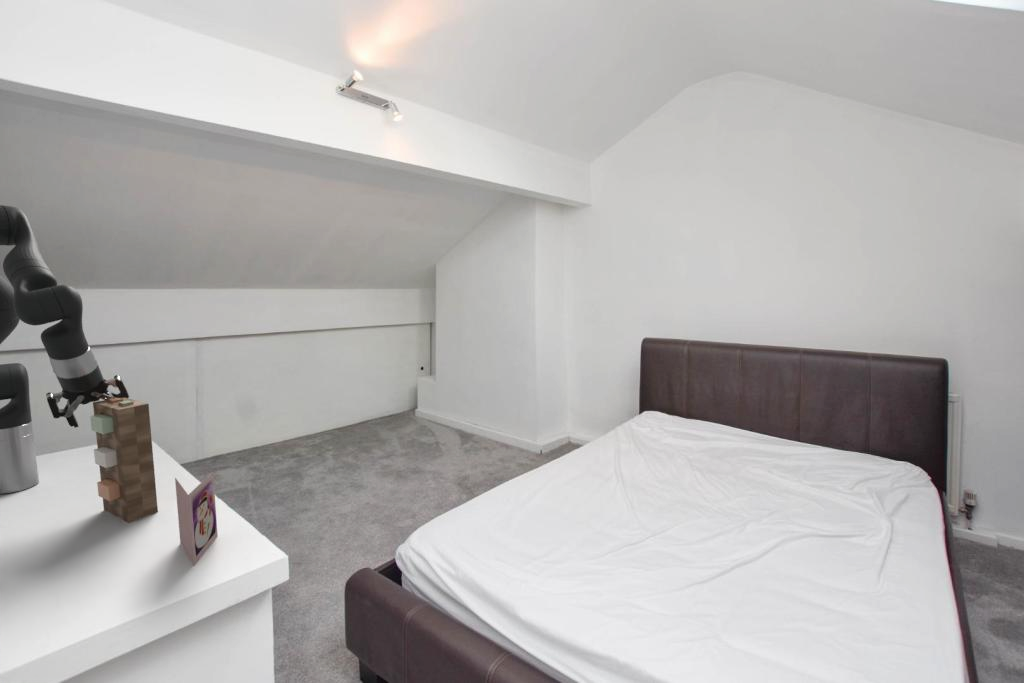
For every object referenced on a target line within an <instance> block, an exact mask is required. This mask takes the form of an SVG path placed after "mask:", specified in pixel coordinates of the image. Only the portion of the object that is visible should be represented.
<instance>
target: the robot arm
mask: <svg viewBox="0 0 1024 683" xmlns="http://www.w3.org/2000/svg"><path fill="white" fill-rule="evenodd" d="M0 246H6V247H7V246H10V247H11V246H14V247H13V248H12V249H10V250H9V252H8V253H7V254H6V256H5V257H4V260H3V262H2V270H3V272H4V274H5V276H6V278H7V280H8V281H7V280H6V279H5V278H4V277H3V276H2V275H1V274H0V345H2V343H3V342H4V341H6V339H7V338H8V337H9V336H10V335H11V334H12V333H13V331H14V330H16V328H17V326H18V325H19V323H20V321H21V322H23V323H24V324H26V325H29V326H41V325H46V324H50V323H54V322H56V323H55V324H53V325H51V326H48V327H46V328H45V329H44V330H43V331H42V332H41V334H40V340H41V343H42V345H43V347H44V349H45V352H46V354H47V356H48V358H49V363H50V365H51V367H52V371H53V373H54V374H55V377H56V378H57V381H58V383H59V385H60V387H61V389H62V390H61V392H60V391H59V392H56V393H53V392H51V391H50V392H47V393H46V400H47V403H48V406H49V409H50V412H51V414H52V417H53V419H59V418H62V417H63V418H65V420H66V421H67V423H68V425H69V426H70V427H71V428H72V427H74V428H78V427H79V423H78V420H77V418H76V416H75V414H74V412H75V411H77V409H78V408H79V406H80V405H83V406H84V405H87V404H89V403H93V402H98V401H100V400H102V401H104V400H108V399H113V398H120V397H124V398H128V399H130V398H129V397H130V395H129V392H128V390H127V387H126V385H125V384H124V382H123V380H122V377H121V376H120V375H119V374H117V375H114V377H113V378H111V379H108V380H106V379H105V378H104V377H103V374H102V371H101V370H100V367H99V363H98V361H97V359H96V356H95V354H94V353H93V351H92V349H91V348H90V346H89V345H90V344H89V343H88V341H87V338H86V336H85V332H84V328H83V309H84V307H83V299H82V297H81V294H80V293H79V291H78V290H76V289H75V288H74V287H73V286H70V285H67V284H58V281H57V278H56V277H55V275H54V274H53V272H52V271H51V269H50V268H49V266H48V264H47V263H46V261H45V260H44V258H43V256H42V254H41V251H40V248H39V244H38V242H37V239H36V237H35V234H34V231H33V229H32V226H31V223H30V222H29V219H28V217H27V216H26V214H25V213H24V212H23V210H21V209H20V208H18V207H15V206H11V205H3V204H0ZM57 321H58V322H57ZM28 373H29V372H28V370H27V369H26V366H24V365H23V363H18V362H15V363H2V364H0V401H5V400H10V401H9V402H8V403H7V404H6V405H4V406H2V407H1V408H0V495H2V494H9V493H15V492H20V491H23V490H27V489H30V488H32V487H35V486H36V485H37V484H39V482H40V478H39V471H38V470H39V469H38V462H37V453H36V445H35V436H34V429H33V422H32V421H33V420H32V412H31V402H30V401H31V398H30V381H29V374H28ZM110 386H112V387H114V388H115V389H116V388H118V390H119V393H117V392H113V391H112V390H110V389H109V387H110ZM61 399H65V400H67V402H66V404H65V406H64V408H59V405H58V404H59V403H60V402H61Z"/></svg>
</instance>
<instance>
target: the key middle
mask: <svg viewBox="0 0 1024 683" xmlns="http://www.w3.org/2000/svg"><path fill="white" fill-rule="evenodd" d="M93 454H94V464H95V465H100V466H103V467H105V468H108V467H112V466H115V465H117V456H116V450H114V449H112V448H109V447H102V448H98V447H97V448H95V449H93Z"/></svg>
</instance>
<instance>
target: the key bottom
mask: <svg viewBox="0 0 1024 683" xmlns="http://www.w3.org/2000/svg"><path fill="white" fill-rule="evenodd" d="M96 484H97V494H98V497H100V498H101V499H103V498H104V499H106V500H108V501H112V500H115V499H118V498H121V497H120V487H119V483H118V482H115V481H113V480H111V479H107V480H103V481H101V480H100V481H97V482H96Z"/></svg>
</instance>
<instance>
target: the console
mask: <svg viewBox="0 0 1024 683" xmlns="http://www.w3.org/2000/svg"><path fill="white" fill-rule="evenodd" d="M149 405H150V404H149V403H147V402H143V401H140V400H135V399H131V398H124V397H120V398H113V399H108V400H99V401H95V402H92V406H93V407H92V408H93V416H94V415H99V414H106V415H110V416H113V425H114V432H110V433H106V434H101V433H98V432H95V436H96V445H97V449H98V448H102V447H109V448H112V449H114V450H116V456H117V465H115V466H112V467H108V468H105V467H103V466H100V465H99V474H100V481H103V480H107V479H111V480H113V481H115V482H118V483H119V487H120V497H121V498H118V499H115V500H112V501H108V500H106V499H104V498H102V504H103V511H104V512H107V513H109V514H110V515H112V516H115V517H117V518H119V519H121V520H123V521H125V522H127V523H132V522H135V521H137V520H140V519H143V518H145V517H147V516H151V515H154V514H156V513H159V510H158V499H157V488H156V487H157V486H156V475H155V462H154V452H153V440H152V430H151V417H150V406H149Z"/></svg>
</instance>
